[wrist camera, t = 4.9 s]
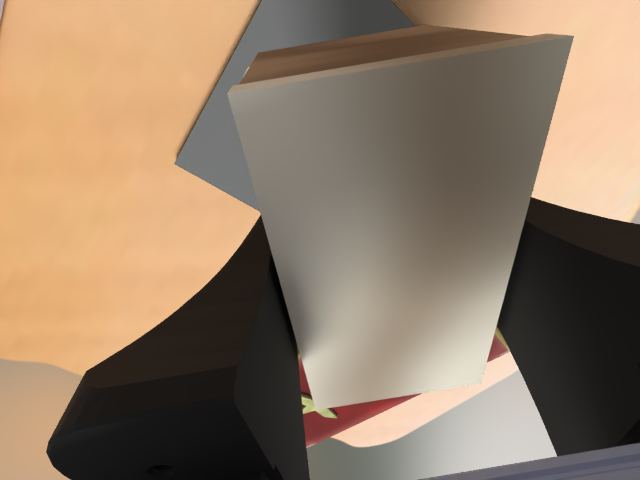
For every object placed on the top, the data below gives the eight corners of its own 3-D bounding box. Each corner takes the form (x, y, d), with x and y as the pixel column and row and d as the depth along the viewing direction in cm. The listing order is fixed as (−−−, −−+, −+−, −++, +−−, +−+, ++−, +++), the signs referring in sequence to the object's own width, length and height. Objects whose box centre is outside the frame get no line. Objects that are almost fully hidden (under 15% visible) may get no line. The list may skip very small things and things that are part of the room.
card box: (305, 278, 15) (315, 410, 10) (256, 50, 10) (227, 93, 5) (415, 260, 15) (481, 383, 10) (426, 22, 10) (573, 35, 5)
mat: (176, 160, 18) (173, 164, 17) (308, -85, 13) (308, -88, 12) (346, 256, 23) (347, 261, 22) (490, 108, 18) (494, 110, 17)
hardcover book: (489, 312, 28) (518, 354, 25) (305, 409, 35) (308, 453, 32) (424, 227, 22) (450, 268, 19) (216, 363, 29) (207, 412, 25)
